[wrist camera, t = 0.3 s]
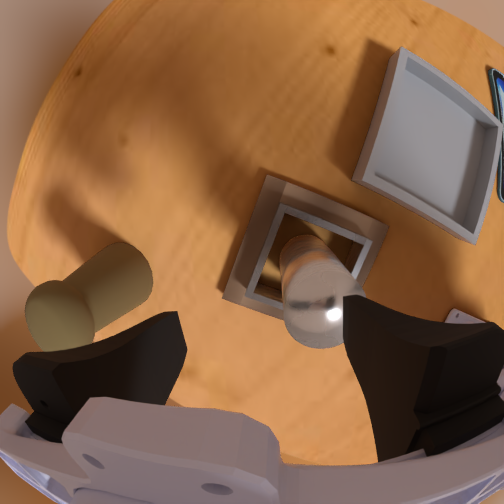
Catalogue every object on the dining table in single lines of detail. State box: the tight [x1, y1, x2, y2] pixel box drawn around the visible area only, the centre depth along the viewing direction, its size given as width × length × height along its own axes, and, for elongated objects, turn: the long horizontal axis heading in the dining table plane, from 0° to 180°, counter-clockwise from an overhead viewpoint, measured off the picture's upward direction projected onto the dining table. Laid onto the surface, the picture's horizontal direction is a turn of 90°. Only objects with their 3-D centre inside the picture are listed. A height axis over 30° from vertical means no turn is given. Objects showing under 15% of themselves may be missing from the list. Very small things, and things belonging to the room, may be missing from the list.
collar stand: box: [222, 174, 389, 320], centre depth 20 cm, size 10×10×2 cm
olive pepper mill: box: [25, 243, 153, 352], centre depth 17 cm, size 6×6×11 cm
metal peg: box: [280, 235, 366, 349], centre depth 16 cm, size 4×4×9 cm
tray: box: [351, 47, 503, 245], centre depth 16 cm, size 12×12×3 cm
